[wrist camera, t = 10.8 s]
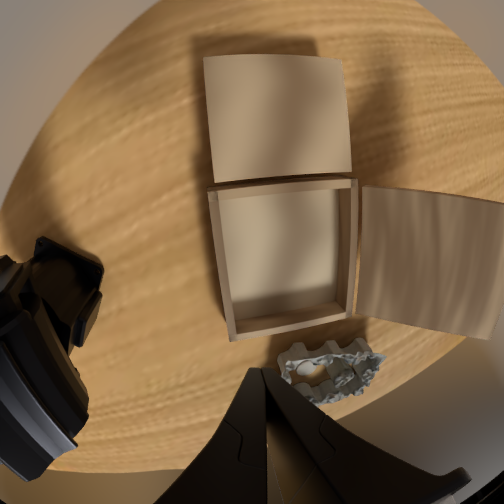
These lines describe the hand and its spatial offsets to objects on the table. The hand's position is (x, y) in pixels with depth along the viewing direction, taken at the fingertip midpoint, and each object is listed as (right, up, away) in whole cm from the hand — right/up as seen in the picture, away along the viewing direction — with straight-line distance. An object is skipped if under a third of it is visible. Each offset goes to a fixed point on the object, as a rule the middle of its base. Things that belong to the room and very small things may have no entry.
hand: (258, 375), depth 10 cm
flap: (+8, +4, +9) cm, 13 cm away
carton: (+2, +8, +10) cm, 13 cm away
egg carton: (+7, -7, +17) cm, 20 cm away
